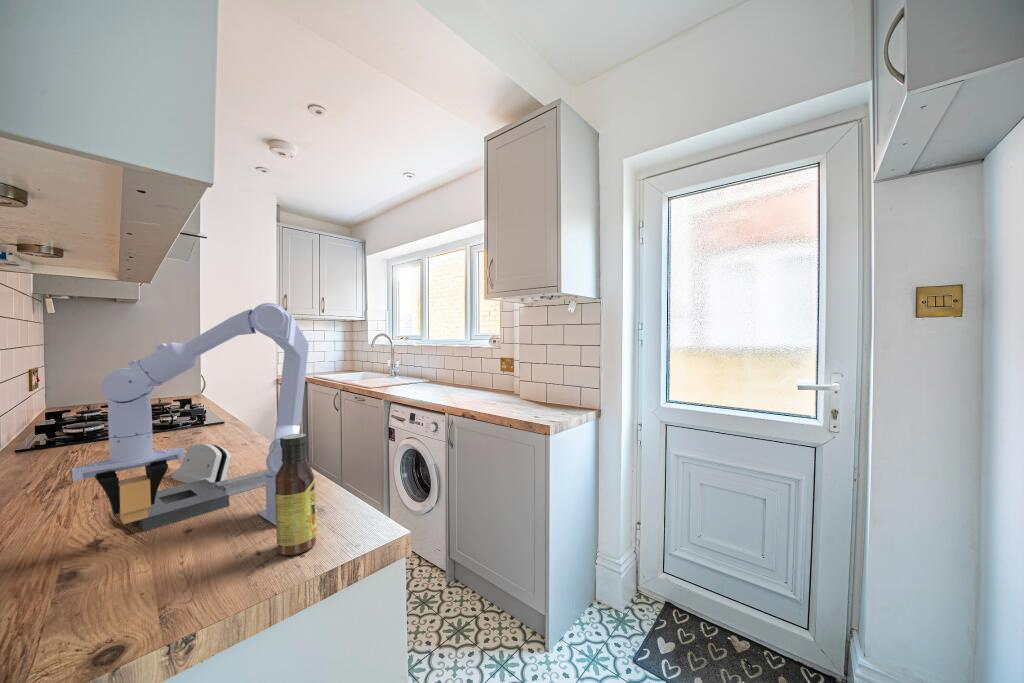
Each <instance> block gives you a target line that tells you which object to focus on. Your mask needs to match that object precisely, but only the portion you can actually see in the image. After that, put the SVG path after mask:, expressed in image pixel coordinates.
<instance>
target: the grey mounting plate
mask: <svg viewBox="0 0 1024 683" xmlns="http://www.w3.org/2000/svg"><path fill="white" fill-rule="evenodd" d="M266 470H267V469H264V470H260V471H256V472H255V471H254V472H252V473H247V474H243V475H240V476H236V477H233V478H228V479H225V480H224V481H220V482H216V481H215V483H211V482H209V481H208V480H206V479H204V480H200V481H196V482H192V483H184V484H181V485H176V486H172V487H168V488H164V489H160V490H157V493H156V497H155V502H154V504H152V505H151V507H148V518H144V519H141V520H137V521H134V522H130V523H129V525H130V526H135V525H139V527H140V528H141V529H142V531H143V530H144V531H143V532H147V531H150V529H151V530H153V529H152V528H154V529H157V528H160V527H159V526H161V527H163V526H162V525H164V526H166V524H167V525H170V524H169V523H171V524H173V522H174V523H176V522H181V521H184V520H186V519H190V517H191V518H194V517H197V516H200V515H204V514H208V513H211V512H213V510H214V511H217V510H220V508H221V509H224V508H226V507H227V508H228V507H230V496H233V494H234V495H237V494H241V493H243V491H244V492H247V490H248V491H251V490H254V489H253V488H255V489H257V487H258V488H261V487H260V486H262V487H264V486H263V485H265V486H266V477H265V475H266V474H265V472H266ZM250 489H251V490H250ZM240 492H241V493H240ZM236 493H237V494H236ZM229 495H230V496H229ZM210 511H211V512H210ZM156 527H157V528H156ZM146 530H147V531H146Z"/></svg>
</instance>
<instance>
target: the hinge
mask: <svg viewBox="0 0 1024 683" xmlns="http://www.w3.org/2000/svg"><path fill="white" fill-rule="evenodd" d="M231 458H232V455H231V453H230V452H229V451H228V449H226V448H224V447H223V446H221V445H217V444H210V443H198V444H193V445H191V446H189V447H188V448H187V450H186V452H185V453H184V459H182V461H181V464H180V466H179V467H178V468H177V469H175V470H174V471H173V472H172V475H171V477H170V478H171V479H172V478H173V480H175V479H176V480H175V481H178V482H181V483H184V484H187V483H192V482H196V481H200V480H204V479H206V480H208V481H209V482H211V483H212V484H214V483H216V482H220V481H224V480H226V478H227V475H228V474H227V473H228V470H229V466H230V462H231Z"/></svg>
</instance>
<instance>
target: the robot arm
mask: <svg viewBox="0 0 1024 683" xmlns="http://www.w3.org/2000/svg"><path fill="white" fill-rule="evenodd" d="M257 332H258V333H260V334H262V335H264V336H265V337H268V338H270V339H271V340H272V341H273V342H275V344H277V345H278V346H279V347H280V348H281V350H282V351H283V352H284V355H283V362H282V370H281V378H280V379H281V380H280V388H279V397H278V406H277V414H276V423H275V424H276V425H275V430H274V438H273V441H271V443H270V445H269V448H268V454H267V455H266V458H265V465H266V468H267V469H265V470H266V472H265V474H266V475H265V477H266V485H265V506H266V507H265V509H263V510H260V511H258V515H259V516H261V517H262V518H263V519H265V520H267V521H269V522H270V523H271V524H273V525H274V526H276V506H275V492H276V486H275V485H276V484H275V478H276V475H277V473H278V471H279V469H280V467H281V466H282V464H283V462H282V460H281V459H282V448H281V445H280V438H281V437H283V436H286V435H290V434H300V429H301V418H302V412H303V401H304V393H305V385H306V384H305V383H306V377H307V376H306V374H307V367H308V366H307V365H308V357H309V350H310V349H309V347H310V345H309V344H310V343H309V340H308V339H307V338H306V336H305V335H304V332H303V331H302V330H301V328H300V326H299V325H298V323H297V322H296V320H295V318H294V316H292V314H290V312H289V311H287V310H286V309H284V308H283V307H282V306H280V305H278V303H277V304H276V303H274V302H273V303H272V302H263V303H261V304H259V305H257V306H256V307H254V308H253V309H252V308H249V309H247V310H244V311H242V312H238V313H237V314H235V315H233V316H230V317H228V318H227V319H225V320H224V321H222V322H220V323H219V324H217V325H215V326H213V327H211V328H210V329H207V331H205V332H202V333H200V334H199V335H198V336H196V337H194V338H192V339H191V340H189V341H187V342H186V343H185V342H184V343H180V342H172V341H171V342H170V343H168V344H166V343H163V342H162V343H160V344H159V345H156V346H155V348H156V349H157V350H155V351H152V352H151V353H149V354H147V355H146V356H144V357H141V358H139V359H138V360H137V359H132V360H130V361H128V362H127V363H128V365H129V366H128V367H121V368H116V369H113V370H112V371H111V372H109V373H108V374H107V375H106V376H105V377H104V378H103V379H102V381H101V384H100V389H101V392H102V394H103V395H104V397H106V398H107V409H108V410H107V424H108V426H107V427H108V429H107V431H108V448H109V451H108V452H109V459H107V460H105V459H104V460H102V461H97V462H92V463H90V464H85V465H80V466H75V467H72V468H71V472H72V473H71V475H72V481H73V482H78V481H82V480H84V479H88V478H93V477H94V478H95V481H97V482H98V483H99V485H100V487H101V488H102V489H103V490H104V493H105V494H106V496H107V499H108V500H109V503H110V507H111V511H112V513H113V515H118V514H120V505H119V498H118V483H119V477H118V473H116V472H121V471H122V472H123V471H127V470H132V469H136V468H141V467H145V475H146V476H147V477H148V478H149V479H150V491H151V505H152V504H154V502H155V497H156V493H157V491H159V490H158V489H159V487H160V484H161V482H162V480H163V478H164V476H165V475H166V473H167V471H168V468H169V464H168V463H167V462H170V461H176V460H177V461H180V460H183V459H184V457H185V449H184V448H182V447H176V448H169V449H164V450H163V449H162V450H154V445H153V444H154V442H153V440H154V439H153V438H154V437H153V416H152V415H153V413H152V405H151V393H152V391H153V390H154V389H155V387H160V386H162V385H164V384H165V383H168V382H170V381H171V380H173V379H174V378H176V377H179V376H180V375H181V374H183V373H186V372H187V371H189V370H191V369H192V368H194V367H195V365H196V361H197V358H198V357H199V356H202V354H205V353H207V352H208V351H211V350H212V349H215V348H216V347H218V346H220V345H222V344H224V343H226V342H228V341H229V340H232V339H234V338H236V337H238V336H243V335H253V334H255V335H256V334H257ZM317 512H318V509H317V508H316V513H317Z"/></svg>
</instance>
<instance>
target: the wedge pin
mask: <svg viewBox="0 0 1024 683" xmlns="http://www.w3.org/2000/svg"><path fill="white" fill-rule="evenodd" d="M118 498H119V505H120V513H119V519H120V521H121V522H122V524H123V525H125V524H130V522H134V521H137V520H141V519H144V518H148V507H151V491H150V479H149V478H148V477H147V476H146V474H144V475H138V476H134V477H130V478H125V479H124V478H123V479H120V480H119V483H118Z"/></svg>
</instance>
